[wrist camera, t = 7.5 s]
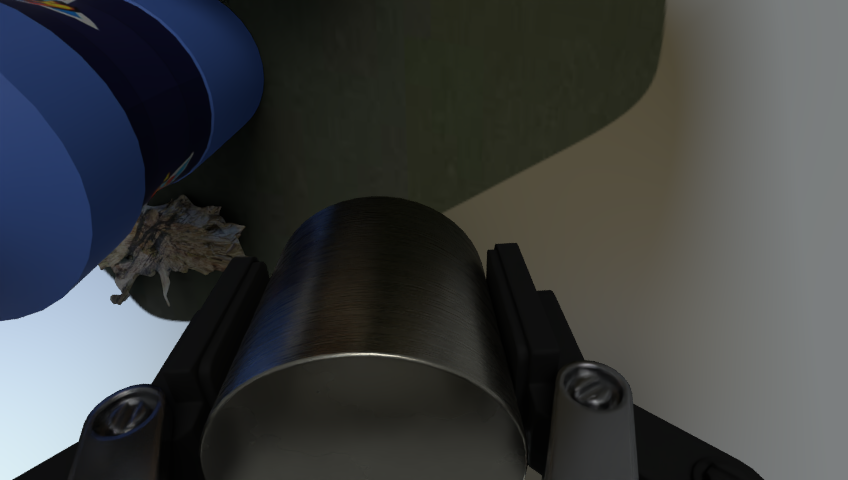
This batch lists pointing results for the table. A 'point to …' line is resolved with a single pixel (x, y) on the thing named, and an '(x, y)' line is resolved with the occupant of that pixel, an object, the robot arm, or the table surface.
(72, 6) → the water bottle
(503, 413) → the tin
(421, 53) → the table surface
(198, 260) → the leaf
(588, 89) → the table surface
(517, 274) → the robot arm
